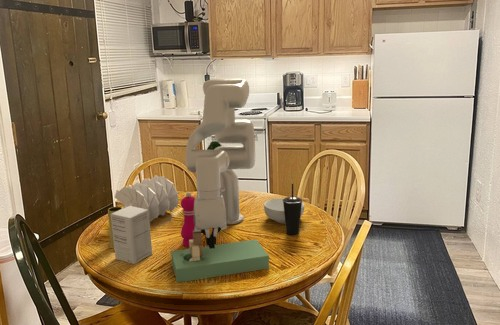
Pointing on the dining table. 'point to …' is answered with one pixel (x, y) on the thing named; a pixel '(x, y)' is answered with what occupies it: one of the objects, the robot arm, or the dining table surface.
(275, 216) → the cereal bowl
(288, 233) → the drinking cup
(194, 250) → the stacked wooden blocks
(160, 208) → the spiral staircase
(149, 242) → the supplement box
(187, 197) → the pepper mill
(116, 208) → the vase
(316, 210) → the dining table surface
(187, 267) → the putting mat
